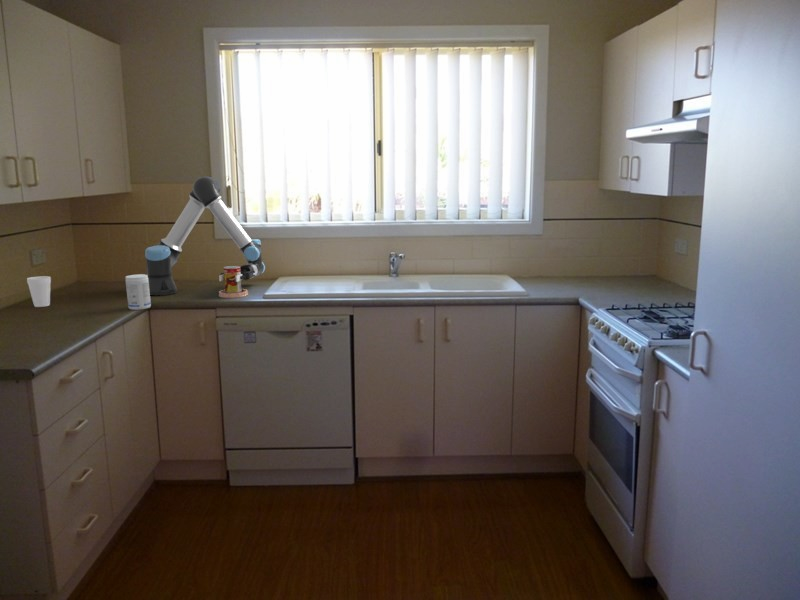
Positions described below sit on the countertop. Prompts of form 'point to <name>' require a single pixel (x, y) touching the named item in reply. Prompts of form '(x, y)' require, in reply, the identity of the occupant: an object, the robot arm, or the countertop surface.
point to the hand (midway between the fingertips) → (228, 278)
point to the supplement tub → (138, 292)
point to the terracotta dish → (233, 294)
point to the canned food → (232, 279)
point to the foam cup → (40, 290)
